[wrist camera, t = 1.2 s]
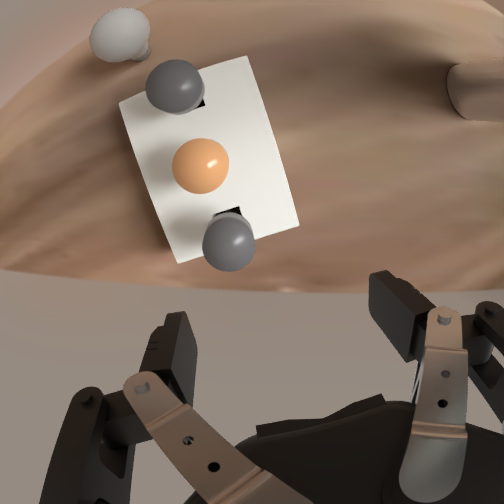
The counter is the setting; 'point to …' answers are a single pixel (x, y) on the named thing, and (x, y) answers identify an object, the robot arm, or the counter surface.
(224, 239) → the charcoal knob
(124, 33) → the lightbulb
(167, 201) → the mounting board
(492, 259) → the counter surface
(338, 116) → the counter surface
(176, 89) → the charcoal knob
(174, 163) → the middle terracotta knob
